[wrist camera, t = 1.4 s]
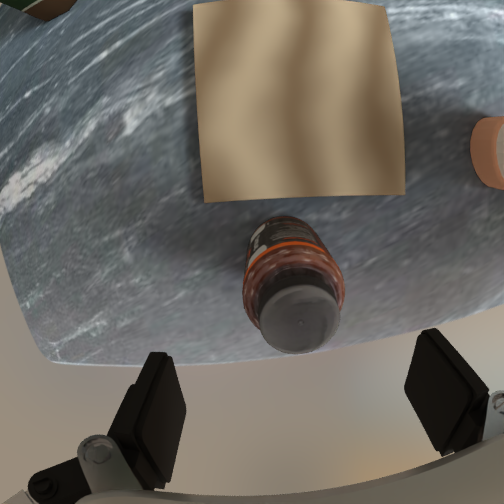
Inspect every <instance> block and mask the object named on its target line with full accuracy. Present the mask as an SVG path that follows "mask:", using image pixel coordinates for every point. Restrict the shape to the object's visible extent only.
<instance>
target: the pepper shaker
mask: <svg viewBox="0 0 504 504" xmlns="http://www.w3.org/2000/svg"><path fill="white" fill-rule="evenodd" d="M470 153H471V158H472V163H473V166H474V169H475V171H476V174H477V175H478V177H479V178H480V179H481V181H482V182H483V183H484V184H486V185H487V186H488V187H493V188H497V189H501V190H504V116H502V117H488V118H483V119H481V120H480V121H478V122H477V124H476V125H475V127H474V129H473V132H472V136H471V139H470Z"/></svg>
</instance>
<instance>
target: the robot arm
mask: <svg viewBox="0 0 504 504" xmlns="http://www.w3.org/2000/svg"><path fill="white" fill-rule="evenodd" d="M404 390H405V393H406V395H407V397H408V399H409V401H410V403H411V404H412V406H413V408H414V410H415V412H416V414H417V416H418V417H419V419H420V421H421V423H422V425H423V427H424V429H425V431H426V433H427V435H428V437H429V439H430V441H431V443H432V445H433V447H434V448H435V450H436V451H439V452H440V454H441V456H442V457H443V456H445V455H448V454H450V453H453V452H455V453H454V454H451V455H449V456H446V457H444V458H441V459H439V460H436V461H434V462H431V463H428V464H425V465H422V466H419V467H416V468H414V469H410V470H407V471H404V472H400V473H397V474H393V475H390V476H386V477H382V478H379V479H375V480H371V481H366V482H362V483H357V484H353V485H348V486H342V487H337V488H331V489H324V490H317V491H310V492H301V493H291V494H280V495H263V496H216V495H215V496H214V495H195V494H183V493H172V492H160V491H154V489H155V488H159V489H164V488H165V484H166V482H168V483H169V482H170V481H171V477H172V473H173V468H174V464H175V459H176V455H177V450H178V446H179V441H180V437H181V433H182V429H183V424H184V420H185V415H186V404H185V401H184V398H183V395H182V391H181V388H180V384H179V381H178V377H177V374H176V370H175V366H174V363H173V359H172V357H171V356H168V355H167V353H166V352H150V354H149V356H148V358H147V360H146V362H145V364H144V366H143V368H142V370H141V373H140V374H139V377H138V379H137V381H136V383H135V384H132V385H131V386H130V387H129V389H128V391H127V393H126V395H125V397H124V399H123V401H122V403H121V405H120V407H119V410H118V412H117V414H116V416H115V418H114V420H113V423H112V425H111V427H110V429H109V431H108V434H107V436H105V435H93V436H90V437H88V438H86V439H84V441H82V442H81V443H80V445H79V447H78V450H77V455H78V457H75V458H73V459H71V460H68V461H66V462H63V463H61V464H58V465H56V466H53V467H50V468H48V469H45V470H42V471H40V472H37V473H35V474H34V475H33V476H32V477H31V478H30V480H29V482H28V490H27V491H26V492H25V491H24V490H21V491H19V492H18V493H17V494H15V495H14V496H12V497H11V498H10V499H8V500H7V501H5V502H4V503H2V504H504V391H496V392H494V393H492V394H491V396H490V395H489V394H488V391H489V389H488V387H487V386H486V385H485V383H484V382H483V381H482V380H481V379H480V377H479V376H478V375H477V374H476V373H475V371H474V370H473V369H472V368H471V367H470V366H469V364H468V363H467V362H466V361H465V360H464V358H463V357H462V356H461V355H460V354H459V353H458V351H456V349H455V348H454V347H453V346H452V345H451V344H450V342H449V341H448V340H447V339H446V338H445V337H444V336H443V335H442V334H441V332H440V331H439V330H437V329H436V328H432V329H427V330H423V331H422V332H421V334H420V335H419V336H418V337H417V341H416V345H415V349H414V354H413V357H412V361H411V364H410V368H409V371H408V375H407V379H406V382H405V385H404Z"/></svg>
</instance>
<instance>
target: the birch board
mask: <svg viewBox="0 0 504 504" xmlns="http://www.w3.org/2000/svg"><path fill="white" fill-rule="evenodd" d="M193 26H194V58H195V80H196V99H197V115H198V130H199V144H200V157H201V169H202V181H203V192H204V202H205V203H211V202H224V201H238V200H254V199H271V198H291V197H315V196H352V195H405V149H404V130H403V117H402V105H401V96H400V87H399V80H398V72H397V66H396V59H395V54H394V48H393V43H392V37H391V33H390V28H389V23H388V19H387V15H386V10H385V7H383V6H378V5H372V4H366V3H360V2H352V1H344V0H224V1H216V2H208V3H202V4H195V5H193Z"/></svg>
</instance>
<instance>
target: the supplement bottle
mask: <svg viewBox="0 0 504 504" xmlns="http://www.w3.org/2000/svg"><path fill="white" fill-rule="evenodd" d="M242 295H243V304H244V309H245V311H246V313H247V315H248V317H249V319H250V320H251V322H252V323H253V324H254V325H255V326H256V327H257V328H258V329H259V330H260V331H261V333H262V335H263V337H264V339H265V340H266V341H267V343H268V344H269V345H271V346H272V347H273V348H275V349H277V350H279V351H281V352H284V353H289V354H303V353H308V352H312V351H314V350H316V349H319V348H320V347H322V346H324V345H325V344H326V343H327V342H328V341H329V340H330V339H331V338H332V337H333V336H334V334H335V333H336V330H337V328H338V326H339V322H340V311H341V308H342V306H343V302H344V297H345V285H344V279H343V276H342V273H341V271H340V269H339V267H338V265H337V264H336V262H335V260H334V259H333V258H332V256H331V255H330V253H329V252H328V250H327V248H326V247H325V246H324V244H323V243H322V241H321V240H320V238H319V237H318V235H317V234H316V233H315V231H314V230H313V229H312V228H311V227H310V226H309V225H308V224H307V223H305V222H304V221H302V220H300V219H297V218H294V217H287V216H283V217H276V218H272V219H270V220H268V221H266V222H265V223H263V224H262V225H261V226H259V227H258V228H257V230H256V231H255V232H254V234H253V235H252V237H251V239H250V242H249V246H248V249H247V258H246V266H245V273H244V280H243V291H242Z"/></svg>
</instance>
